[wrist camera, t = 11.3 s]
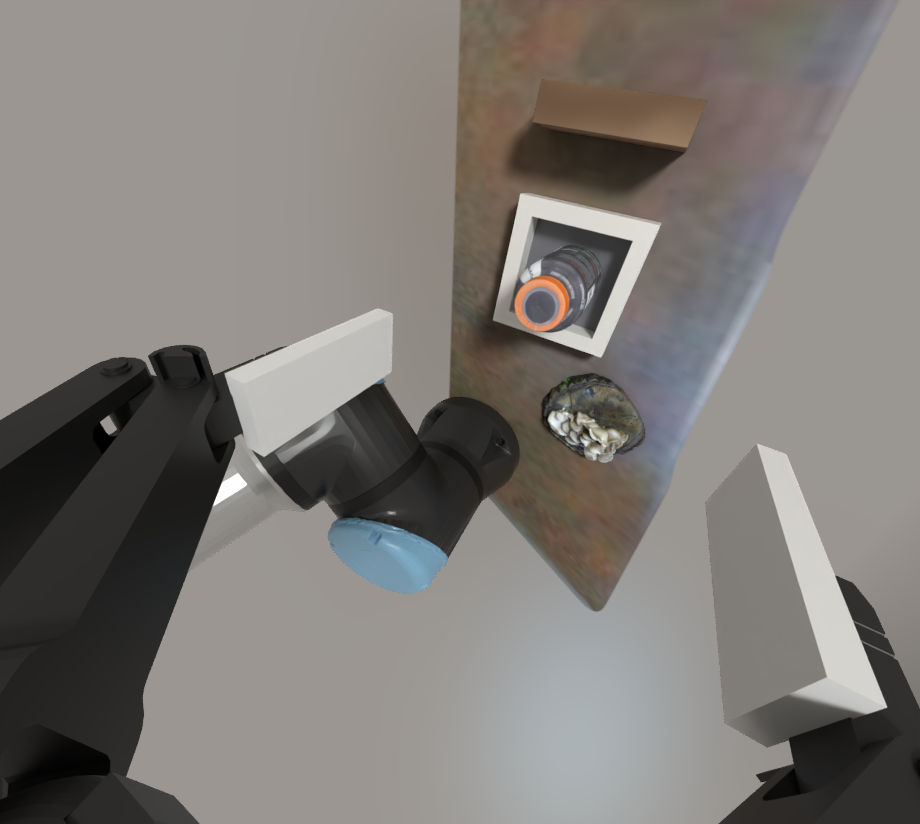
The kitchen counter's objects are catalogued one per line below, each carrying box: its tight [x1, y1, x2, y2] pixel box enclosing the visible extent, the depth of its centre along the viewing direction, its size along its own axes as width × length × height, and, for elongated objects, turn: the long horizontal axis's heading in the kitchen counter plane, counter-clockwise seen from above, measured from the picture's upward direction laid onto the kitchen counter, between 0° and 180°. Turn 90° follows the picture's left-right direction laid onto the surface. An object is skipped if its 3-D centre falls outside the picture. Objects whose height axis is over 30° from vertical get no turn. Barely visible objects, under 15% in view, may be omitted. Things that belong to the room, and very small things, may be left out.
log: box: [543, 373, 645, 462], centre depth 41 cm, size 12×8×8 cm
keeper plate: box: [493, 193, 661, 357], centre depth 34 cm, size 12×12×2 cm
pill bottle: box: [514, 244, 602, 333], centre depth 31 cm, size 6×6×11 cm
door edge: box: [533, 79, 708, 152], centre depth 26 cm, size 2×11×5 cm, turn 80°
